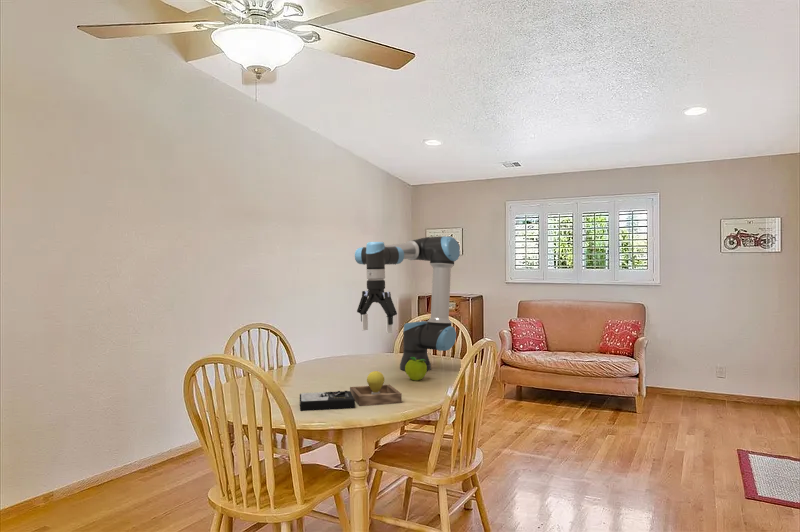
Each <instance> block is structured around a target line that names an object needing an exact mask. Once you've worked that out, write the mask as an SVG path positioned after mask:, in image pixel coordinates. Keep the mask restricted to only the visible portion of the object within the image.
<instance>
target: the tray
mask: <svg viewBox="0 0 800 532" xmlns="http://www.w3.org/2000/svg"><path fill="white" fill-rule="evenodd" d="M349 391H350V392H351V393H352V395H353V398H354V400H355V404H357V405H358V406H359V407H364V406H374V405H375V406H376V405H377V406H379V405H389V404H390V405H391V404H401V403H402V402H403V401H402V400H403V399H402V396H403V395H402V393H401V392H400V391H399V390H397V389H396V388H395V387H394V386H393V385H391V384H389V383H387V384H383V385H382V387H381V389H380V390H379V392H380V394H375V395H372V393H371V392H373V391H372V390H371V388H370V387H369V385H362V386H358V385H357V386H349Z"/></svg>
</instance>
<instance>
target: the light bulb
mask: <svg viewBox="0 0 800 532" xmlns="http://www.w3.org/2000/svg"><path fill="white" fill-rule="evenodd" d="M366 383H367V386H369V387H370V388H371V390H372V391H373V392H371V393H372V395H375V394H380V392H379V390H380V389H381V387H382V385H384V383H385V376H384V374H383V373H382V372H380V371H379V370H377V371H376V370H374V371H370V373H369V374H368V375H367V377H366Z"/></svg>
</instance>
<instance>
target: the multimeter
mask: <svg viewBox="0 0 800 532" xmlns="http://www.w3.org/2000/svg"><path fill="white" fill-rule="evenodd" d="M355 408H356V402H355V400H354V398H353V395H352V393H351V392H350V390H343V391H341V390H337V391H323V392H321V391H319V392H302V393H299V410H300V412H307V411H308V412H309V411H325V410H326V411H327V410H328V411H329V410H349V409H351V410H352V409H355Z"/></svg>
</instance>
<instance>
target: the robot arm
mask: <svg viewBox="0 0 800 532" xmlns="http://www.w3.org/2000/svg"><path fill="white" fill-rule="evenodd" d="M460 249H461V248H460V245H459V243H458V242H457V240H456V238H455V237H453V236H446V235H443V236H425V237H420V238H417V239H412V240H410V239H409V240H407V241H406V242H403V243H395V244H394V243H393V244H385V242H383V241H369V242H367V243H366V246H362V247H358V248H356V250H355V252H354V260H355V262H356V263H357V264H359V265H363V266H365V265H366V290H362V291H361V298H360V301H359V304H358V306H357V310H356V313H359V314H360V321H361V331H368V330H369V328H368V327H369V320H368V319H369V318H368V316H369V315H368V314H367V312H368V311H369V309H370V308H371V306H372V304H373V303H376V304H378V305H380V306H381V307H382V310H383V311H384V313H385V314H386V316H385V333H386V334H390V333H393V324H394V317H395V316H397V314H398V313H397V310H396V306H395V304H394V302H393V299H392V295H391V291H385V289H386V280H385V278H386V271H385V269H386V268H385V267H386V266H387V265H399V264H402V262H403V261H404V260H409V261H423V262H424V261H425V262H426V261H427V262H429V265H430V266H431V267H432V278H431V279H432V280H431V283H432V285H431V302H430V303H431V304H430V318H429V319H428V320H425V321H424V320H423V321H412V322H406V323H404V324H403V331H402V333H403V337H402V338H403V352H402V356H401V360H400V362H399V369H400V370H402V371H404V372H406V371H405V366H406V364H407V362H408V361H409V360H411V359H412V358H409V357H415V358H416V359H417V360H420V359H424V360H423V361H424V362H425V363H426V366H427V371H430V370H431V369H432V367H431V366H432V365H431V360H430V357H429V356H428V350H433V351H435V350H436V351H439V352H442V351H443V352H447V351H450V350H451V349H452V348H453V346H454V345H455V343H456V341H457V331H456V328H455V327H454V326H452V321H451V319H450V318H449V317H450V315H449V314H450V298H451V297H450V296H451V276H452V275H451V272H452V268H453V267H454V266H455V262H456V261H457V260H458V259H459V257H460V253H461V251H460ZM425 360H426V361H425Z"/></svg>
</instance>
